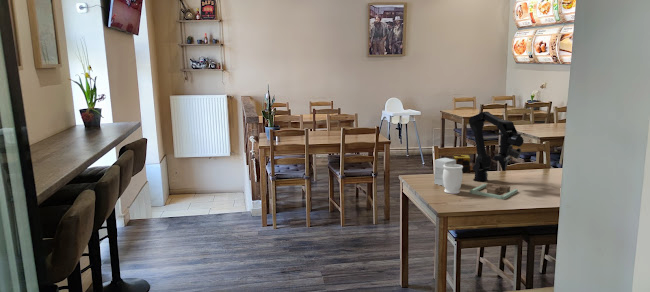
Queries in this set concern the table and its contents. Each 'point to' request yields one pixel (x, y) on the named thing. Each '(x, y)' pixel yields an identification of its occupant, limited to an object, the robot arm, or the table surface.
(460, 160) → the yellow and brown box
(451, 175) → the jar
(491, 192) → the t block
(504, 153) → the robot arm
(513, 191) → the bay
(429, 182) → the table surface
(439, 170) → the supplement box
